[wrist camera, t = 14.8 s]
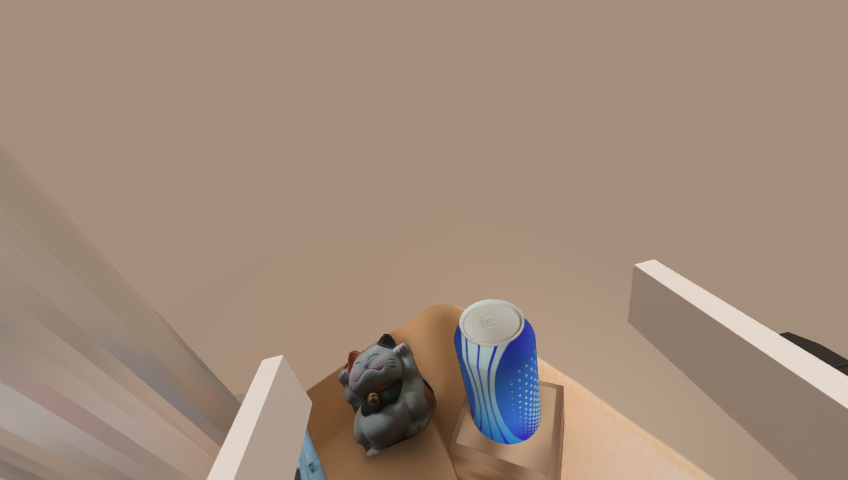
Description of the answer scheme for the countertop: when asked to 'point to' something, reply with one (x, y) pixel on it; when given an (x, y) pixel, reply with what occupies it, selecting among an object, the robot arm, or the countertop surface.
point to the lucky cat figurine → (386, 395)
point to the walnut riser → (512, 464)
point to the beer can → (499, 370)
